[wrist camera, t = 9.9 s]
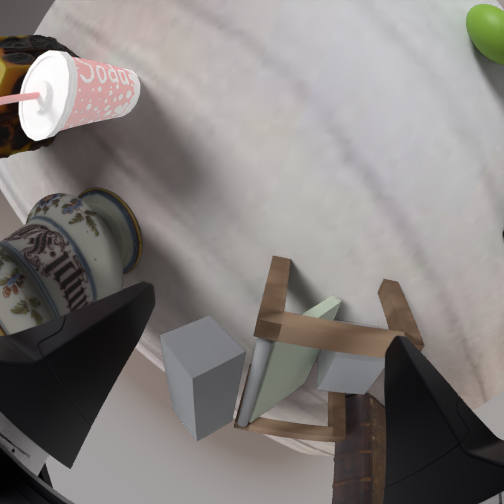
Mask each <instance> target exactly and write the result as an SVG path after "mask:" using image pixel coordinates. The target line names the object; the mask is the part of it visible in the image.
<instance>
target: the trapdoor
mask: <svg viewBox="0 0 504 504" xmlns="http://www.w3.org/2000/svg"><path fill="white" fill-rule="evenodd" d="M340 304H341V301H340V300H339V299H337V298H336V297H334V296H333V295H332V296H330V297H329V298H327V299H326V300H324V301H322V302H321V303H319V304H318V305H316V306H315V307H313V308H311V309H310V310H308V311H306V312H305V313H303V314H302V315H304V316H310V317H315V318H320V319H326V320H331V321H334V318H335V316H336V313H337V311H338V309H339V306H340ZM160 339H161V346H162V353H163V359H164V365H165V371H166V377H167V383H168V387H169V393H170V398H171V403H172V408H173V411H174V412H175V414H176V415H177V416H178V418H179V419H180V420H181V422H182V423H183V424H184V426H185V427H186V428H187V430H188V431H189V432H190V433H191V435H192V436H193V437H194V438H195V440H196V441H198V440H200V439H202V438H204V437H206V436H208V435H210V434H211V433H213V432H215V431H217V430H218V429H220V428H222V427H223V426H225V425H227V424H228V423H230V422H232V419H233V414H234V409H235V404H236V399H237V394H238V389H239V384H240V379H241V374H242V369H243V364H244V358H245V353H246V350H245V349H243V348H242V347H241V346H240V345H239V344H238V343H237V342H236V341H235V340H234V339H233V338H232V337H231V336H230V335H229V334H228V333H227V332H226V331H225V330H224V329H223V328H222V327H221V326H220V325H219V324H218V323H217V322H216V321H215V320H214V319H213V318H212V317H211V316H210V315H209V316H206V317H204V318H202V319H199V320H197V321H194V322H192V323H189V324H187V325H184V326H182V327H179V328H177V329H174V330H172V331H169V332H166V333H164V334H161V335H160ZM320 350H321V349H316V348H310V347H305V346H299V345H294V344H289V343H283V342H278V341H273V340H269V339H264V338H258V339H257V342H256V346H255V350H254V355H253V359H252V364H251V368H250V372H249V376H248V381H247V385H246V389H245V393H244V398H243V402H242V406H241V410H240V414H239V418H238V425H239V426H241V427H245V426H247V424H248V421H249V422H252V421H253V420H255V419H256V418H258V417H259V416H261V415H262V414H264V413H265V412H266V411H268V410H269V409H271V408H272V407H273V406H275V405H276V404H278V403H279V402H280V401H282V400H283V399H284V398H286V397H287V396H288V395H290V394H291V393H292V392H293V391H295V390H296V389H297V388H299V387H300V386H301V385H302V384H304V383H305V381H306V379H307V377H308V375H309V373H310V371H311V369H312V367H313V364H314V362H315V360H316V358H317V356H318V354H319V352H320Z"/></svg>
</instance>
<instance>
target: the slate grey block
mask: <svg viewBox="0 0 504 504" xmlns="http://www.w3.org/2000/svg"><path fill="white" fill-rule="evenodd" d="M334 321H337V322H343V323H349V324H355V325H361V326H367V327H373V328H379V327H378V326H371V325H364V324H358V323H352V322H346V321H340V320H334ZM384 367H385V358H382V357H373V356H364V355H356V354H349V353H342V352H335V351H329V350H322V349H321V350H320V352H319V354H318V378H317V390H323V391H332V392H341V393H351V394H365V393H366V392H367V390H368V389H369V388H370V387H371V385H372V384H373V383H374V381H375V380H376V379H377V377H378V376H379V374H380V373H381V372H382V370H383V369H384Z"/></svg>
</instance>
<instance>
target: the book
mask: <svg viewBox="0 0 504 504" xmlns="http://www.w3.org/2000/svg"><path fill="white" fill-rule="evenodd" d="M345 415H346V438H345V439H343V440H342V441H341V442H335V457H334V462H335V465H334V481H333V485H332V486H333V498H332V504H383V497H384V488H385V487H384V486H385V468H386V415H385V408H384V407H383V406H382V405H381V404H380V403H379V402H378V400H377V399H376V398H374V397H373V396H372V395H370V394H369V393H365V394H359V395H355V396H352V397H349V398H346V399H345Z"/></svg>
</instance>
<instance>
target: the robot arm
mask: <svg viewBox="0 0 504 504" xmlns="http://www.w3.org/2000/svg"><path fill="white" fill-rule="evenodd" d="M503 236H504V231H503ZM154 307H155V291H154V285H153V284H152V283H148V282H144V281H143V282H140V283H138V284H135V285H133V286H130V287H128V288H126V289H123V290H121V291H119V292H116V293H114V294H111V295H109V296H107V297H104V298H102V299H100V300H97V301H95V302H93V303H90V304H88V305H86V306H83V307H81V308H79V309H76V310H74V311H72V312H69V313H67V315H66V314H65V315H62V316H60V317H58V318H55V319H53V320H50V321H48V322H45V323H43V324H40V325H37V326H34V327H31V328H28V329H25V330H22V331H19V332H16V333H14V334H10V335H5V336H0V504H74V503H73V502H71V501H70V500H68V499H67V498H65V497H64V496H62V495H61V494H60V493H58V492H57V491H55V490H54V489H53V487H52V484H51V480H50V477H49V474H48V471H47V467H46V463H45V461H46V460H47V458H48V456H49V455H51V456H52V457H54V458H55V459H56V460H58V461H59V462H60V463H62V464H63V465H65V466H66V467H68V468H69V469H71V467H72V465H73V463H74V461H75V459H76V457H77V455H78V453H79V451H80V449H81V446H82V444H83V443H84V441H85V438H86V437H87V435H88V432H89V431H90V429H91V426H92V424H93V422H94V421H95V418H96V417H97V415H98V413H99V411H100V409H101V407H102V405H103V403H104V402H105V400H106V398H107V396H108V394H109V392H110V390H111V389H112V387H113V385H114V383H115V381H116V380H117V378H118V376H119V374H120V373H121V371H122V369H123V367H124V366H125V364H126V362H127V360H128V359H129V357H130V355H131V353H132V352H133V350H134V348H135V347H136V345H137V343H138V341H139V340H140V338H141V335H142V333H143V331H144V329H145V327H146V324H147V322H148V320H149V318H150V316H151V313H152V311H153V309H154ZM384 395H385V415H386V468H385V486H384V487H385V488H384V497H383V504H504V440H501V439H499V438H498V437H496V436H495V435H494V434H493V433H492V432H491V431H490V430H489V428H488V427H487V426H486V425H485V424H484V423H483V422H482V421H481V420H480V419H479V418H478V417H477V416H476V415H475V414H474V412H473V411H472V410H471V409H470V408H469V407H468V406H467V405H466V403H465V402H464V401H463V400H462V399H461V397H460V396H458V394H457V393H456V391H455V390H454V389H453V388H452V387H451V386H450V384H449V383H448V382H447V381H446V380H445V379H444V378H443V376H442V375H441V374H440V373H439V372H438V371H437V370H436V368H435V367H434V366H433V365H432V364H431V363H430V362H429V361H428V360H427V358H426V357H425V356H424V355H423V354H422V353H421V352H420V351H419V350H418V349H417V347H416V346H415V345H414V344H413V343H412V342H411V341H410V340H409V339H408V338H407V337H406V336H401V335H396V336H395V337H394V338H393V340H392V342H391V343H390V345H389V347H388V348H387V350H386V352H385V380H384Z"/></svg>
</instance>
